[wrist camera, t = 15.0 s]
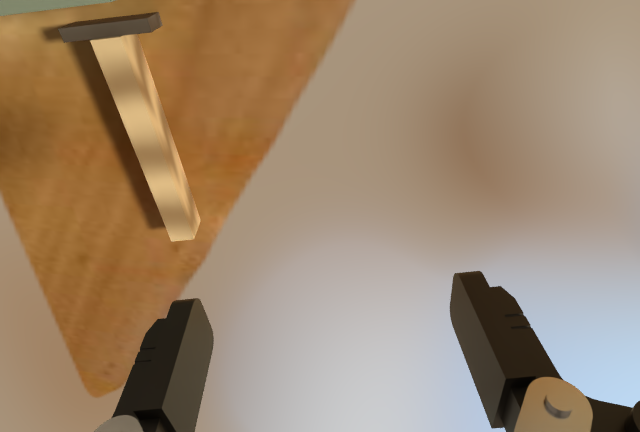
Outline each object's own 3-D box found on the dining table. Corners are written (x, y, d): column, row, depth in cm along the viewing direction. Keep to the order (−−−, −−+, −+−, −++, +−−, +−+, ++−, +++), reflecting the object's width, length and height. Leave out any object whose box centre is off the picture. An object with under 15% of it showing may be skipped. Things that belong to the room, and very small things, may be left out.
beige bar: (76, 21, 33) (54, 30, 30) (158, 11, 33) (145, 19, 30) (160, 224, 45) (150, 243, 42) (220, 217, 45) (215, 237, 42)
